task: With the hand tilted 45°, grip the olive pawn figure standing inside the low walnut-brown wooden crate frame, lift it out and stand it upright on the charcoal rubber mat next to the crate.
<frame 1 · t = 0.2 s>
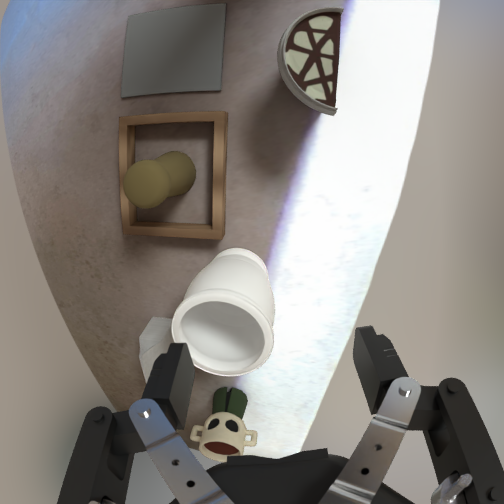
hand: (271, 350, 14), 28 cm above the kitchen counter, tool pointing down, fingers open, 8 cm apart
olive pawn figure: (174, 173, 39), resting in crate frame
crate frame: (174, 173, 39), on the kitchen counter
mat: (171, 48, 33), on the kitchen counter
character mug: (231, 395, 53), on the kitchen counter
white tea box: (166, 334, 49), on the kitchen counter
jar: (238, 274, 44), on the kitchen counter
food container: (301, 71, 33), on the kitchen counter
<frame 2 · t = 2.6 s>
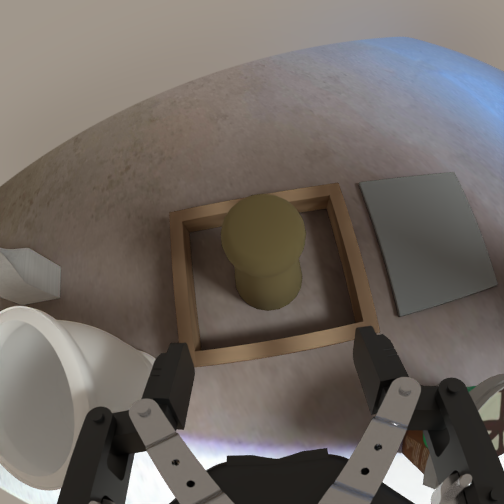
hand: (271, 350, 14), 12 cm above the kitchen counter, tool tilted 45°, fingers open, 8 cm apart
olive pawn figure: (268, 277, 28), resting in crate frame
crate frame: (268, 277, 28), on the kitchen counter
mat: (433, 235, 28), on the kitchen counter
white tea box: (41, 287, 30), on the kitchen counter
jar: (133, 392, 25), on the kitchen counter
food container: (442, 408, 22), on the kitchen counter
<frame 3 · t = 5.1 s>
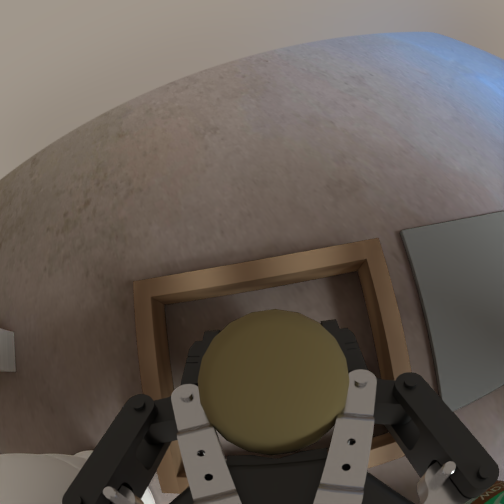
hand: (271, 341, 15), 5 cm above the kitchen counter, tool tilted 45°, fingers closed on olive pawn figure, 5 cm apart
olive pawn figure: (275, 374, 19), resting in crate frame, touching gripper
crate frame: (275, 375, 19), on the kitchen counter
mat: (488, 300, 19), on the kitchen counter
jar: (109, 495, 16), on the kitchen counter
food container: (473, 502, 13), on the kitchen counter
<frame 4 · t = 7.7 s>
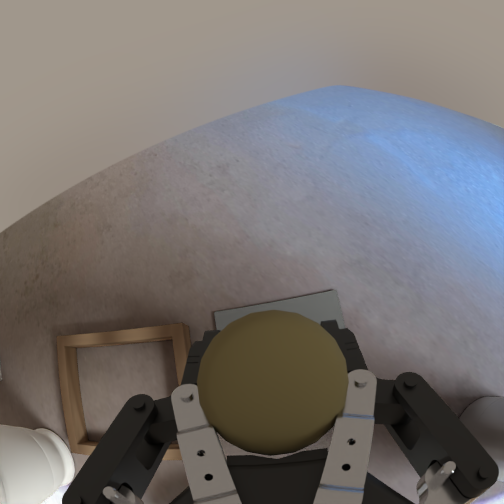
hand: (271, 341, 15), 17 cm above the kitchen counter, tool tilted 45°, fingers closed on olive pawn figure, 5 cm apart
olive pawn figure: (274, 375, 19), point 12 cm above the kitchen counter, touching gripper
crate frame: (129, 395, 29), on the kitchen counter
mat: (288, 368, 29), on the kitchen counter
jar: (52, 457, 26), on the kitchen counter
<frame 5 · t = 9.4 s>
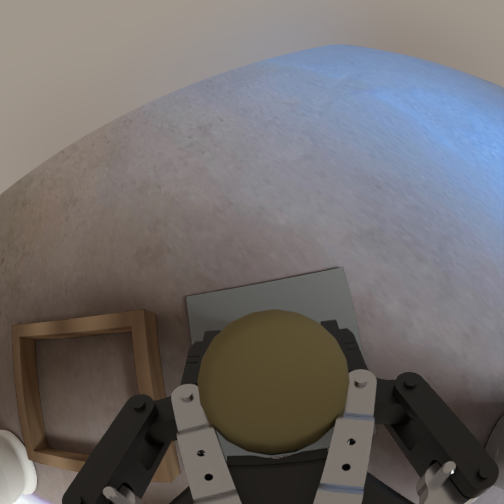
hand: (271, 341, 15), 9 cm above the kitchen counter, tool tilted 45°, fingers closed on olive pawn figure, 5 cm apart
olive pawn figure: (275, 375, 19), point 4 cm above the kitchen counter, touching gripper
crate frame: (88, 397, 23), on the kitchen counter
mat: (280, 369, 22), on the kitchen counter
jar: (15, 462, 20), on the kitchen counter
when the fingers open (6 cm above the kitchen counter, at t = 10.5 s): olive pawn figure stays where it is, resting on mat.
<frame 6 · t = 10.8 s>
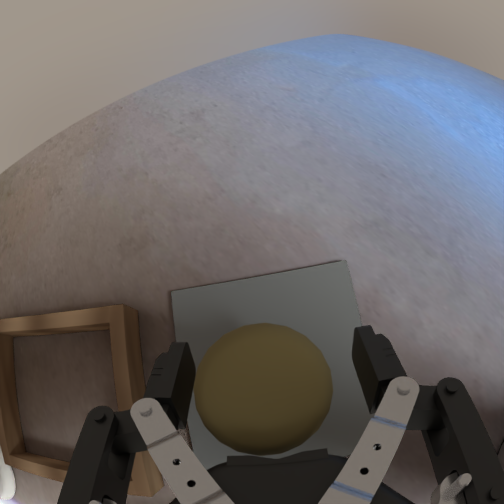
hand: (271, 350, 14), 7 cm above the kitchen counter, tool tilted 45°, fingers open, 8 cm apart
olive pawn figure: (269, 379, 20), resting on mat
crate frame: (65, 400, 20), on the kitchen counter
mat: (275, 374, 20), on the kitchen counter
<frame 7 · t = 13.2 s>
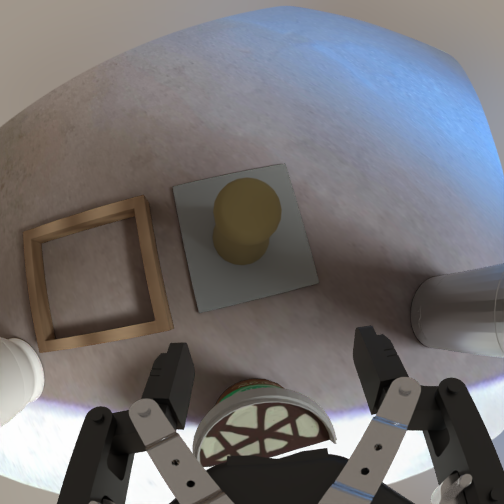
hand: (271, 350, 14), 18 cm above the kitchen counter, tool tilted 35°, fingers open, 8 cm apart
olive pawn figure: (241, 237, 33), resting on mat
crate frame: (93, 279, 31), on the kitchen counter
mat: (244, 234, 33), on the kitchen counter
jar: (21, 370, 28), on the kitchen counter
food container: (250, 395, 31), on the kitchen counter
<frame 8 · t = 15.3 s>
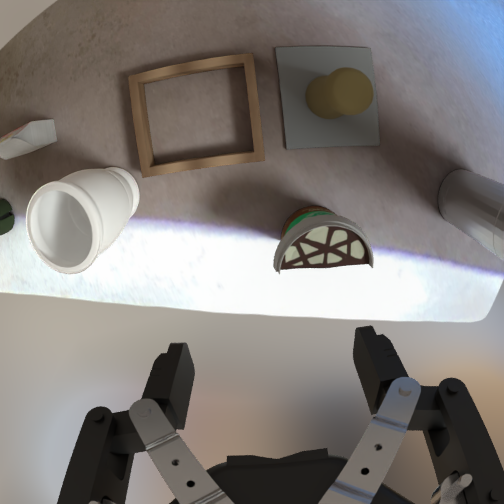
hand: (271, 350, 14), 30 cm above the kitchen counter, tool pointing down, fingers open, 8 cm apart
olive pawn figure: (327, 97, 36), resting on mat
crate frame: (197, 114, 37), on the kitchen counter
mat: (330, 95, 36), on the kitchen counter
character mug: (6, 214, 42), on the kitchen counter
white tea box: (40, 136, 37), on the kitchen counter
jar: (114, 194, 42), on the kitchen counter
food container: (313, 218, 43), on the kitchen counter
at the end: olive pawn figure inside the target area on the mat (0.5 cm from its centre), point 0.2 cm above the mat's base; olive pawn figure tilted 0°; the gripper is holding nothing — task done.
